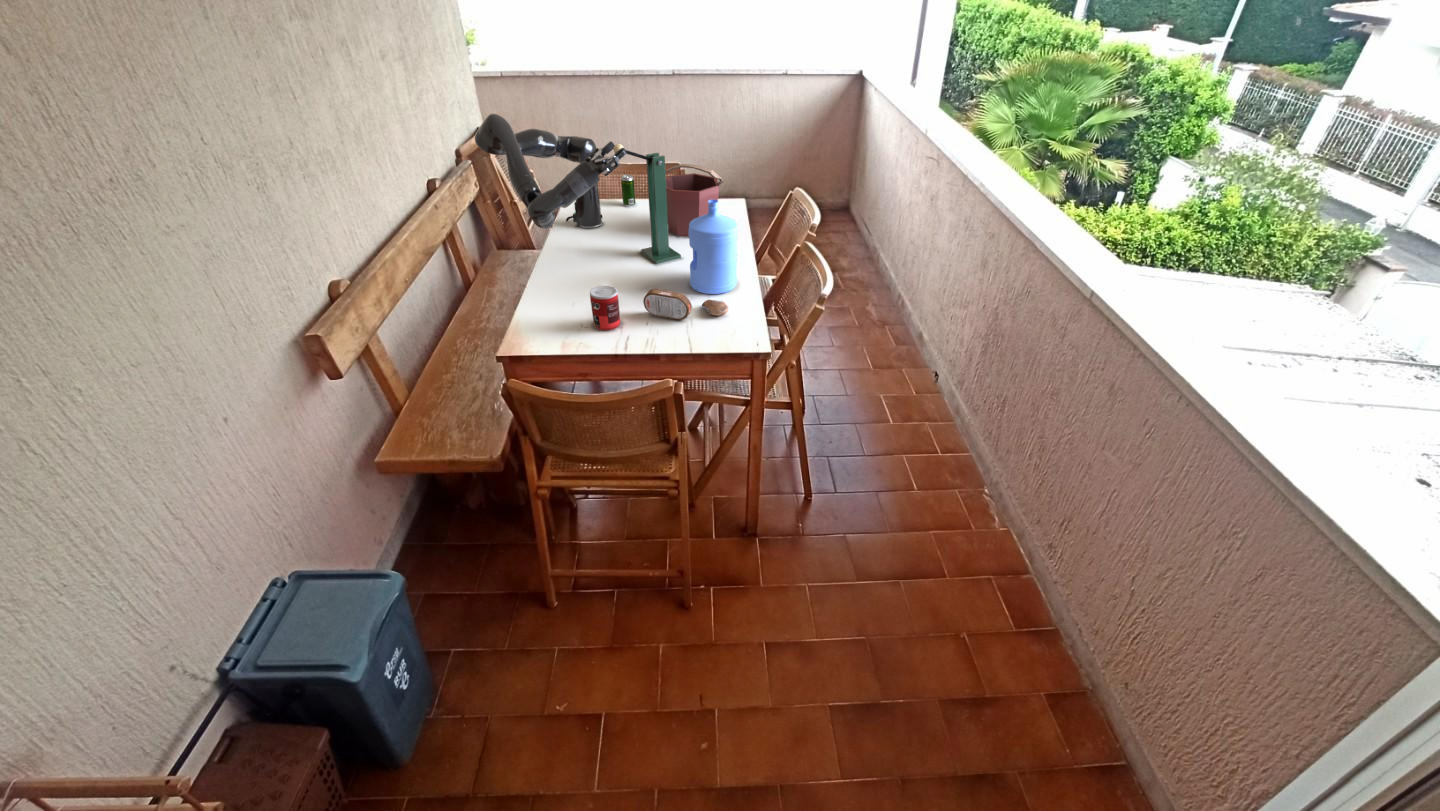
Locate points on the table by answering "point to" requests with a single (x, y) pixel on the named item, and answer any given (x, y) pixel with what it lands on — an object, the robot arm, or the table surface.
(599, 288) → the canned food
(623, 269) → the table surface
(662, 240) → the green upright stand
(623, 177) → the beer can
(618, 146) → the lever
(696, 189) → the bucket
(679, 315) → the tin
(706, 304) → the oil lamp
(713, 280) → the water jug
